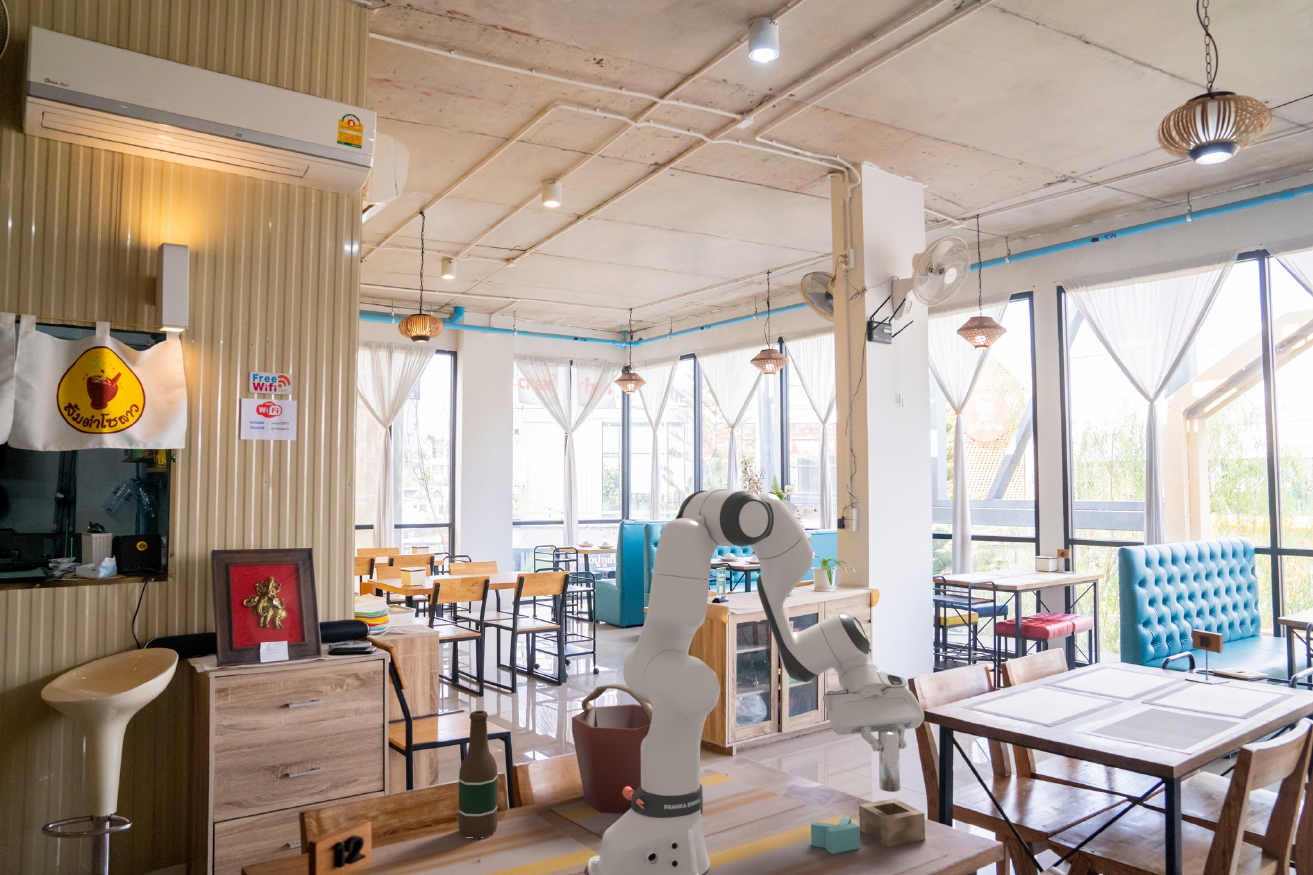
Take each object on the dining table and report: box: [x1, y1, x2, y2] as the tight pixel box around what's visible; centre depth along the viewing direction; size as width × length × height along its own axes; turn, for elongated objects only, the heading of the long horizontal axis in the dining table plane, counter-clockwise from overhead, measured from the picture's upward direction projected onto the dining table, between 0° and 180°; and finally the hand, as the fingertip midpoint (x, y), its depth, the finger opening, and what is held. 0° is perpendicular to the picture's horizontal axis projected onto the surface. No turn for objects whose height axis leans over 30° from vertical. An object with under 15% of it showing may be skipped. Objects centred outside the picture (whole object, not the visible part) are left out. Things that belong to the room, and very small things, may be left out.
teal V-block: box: [810, 815, 861, 855], centre depth 163 cm, size 9×6×4 cm, turn 112°
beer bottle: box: [458, 710, 499, 839], centre depth 172 cm, size 8×8×24 cm
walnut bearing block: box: [858, 797, 926, 848], centre depth 168 cm, size 9×9×5 cm
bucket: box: [571, 683, 652, 815], centre depth 189 cm, size 24×22×25 cm
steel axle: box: [877, 730, 901, 793], centre depth 168 cm, size 4×4×11 cm
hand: (890, 748), depth 168 cm, fingers closed on steel axle, 4 cm apart
